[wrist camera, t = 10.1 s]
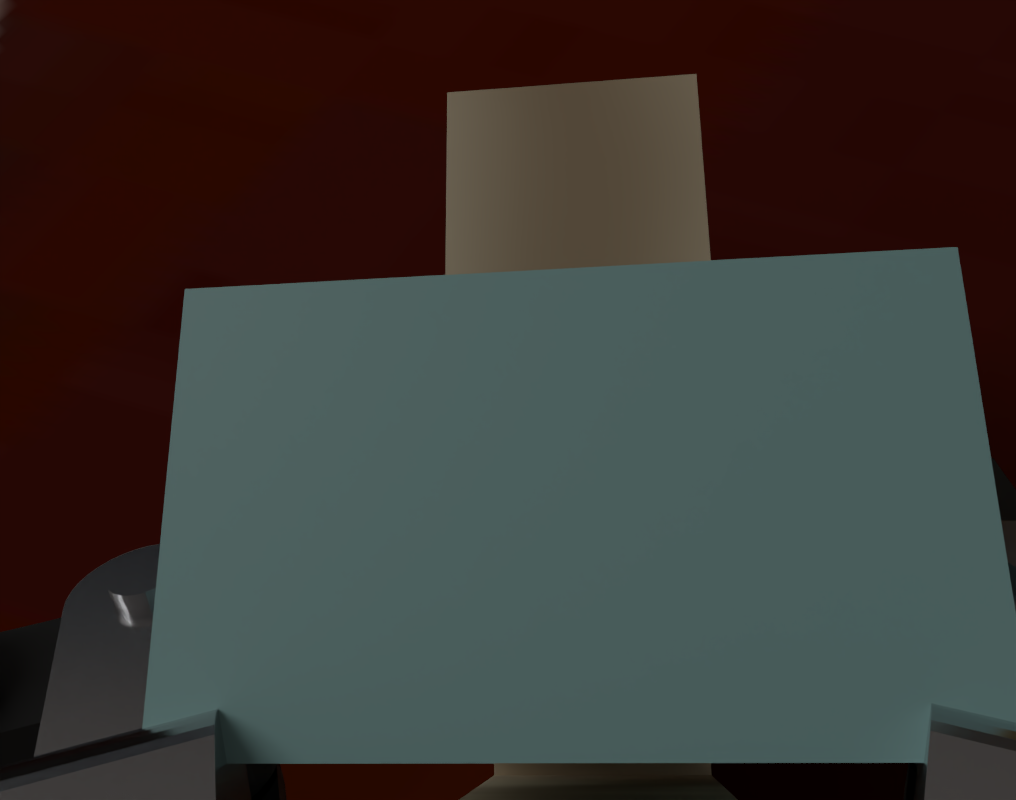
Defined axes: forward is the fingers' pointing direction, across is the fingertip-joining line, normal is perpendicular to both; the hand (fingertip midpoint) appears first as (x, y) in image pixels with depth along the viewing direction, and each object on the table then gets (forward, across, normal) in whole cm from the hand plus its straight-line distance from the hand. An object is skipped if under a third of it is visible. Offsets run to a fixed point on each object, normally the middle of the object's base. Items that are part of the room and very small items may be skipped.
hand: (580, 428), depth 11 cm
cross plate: (+2, 0, +5) cm, 5 cm away
